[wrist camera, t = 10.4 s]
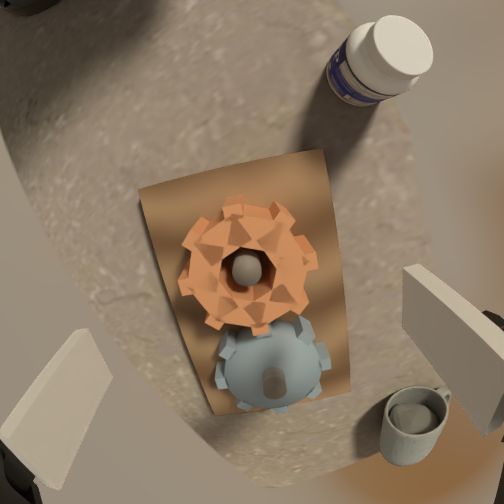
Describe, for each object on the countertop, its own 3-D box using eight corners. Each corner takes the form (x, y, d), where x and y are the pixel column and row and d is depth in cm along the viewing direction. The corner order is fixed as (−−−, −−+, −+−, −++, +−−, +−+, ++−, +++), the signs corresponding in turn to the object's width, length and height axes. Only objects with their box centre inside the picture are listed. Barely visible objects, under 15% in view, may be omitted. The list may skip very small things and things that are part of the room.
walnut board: (144, 187, 23) (113, 197, 18) (318, 148, 23) (340, 145, 17) (216, 406, 30) (211, 448, 24) (346, 382, 29) (362, 421, 23)
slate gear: (203, 322, 25) (199, 338, 23) (318, 299, 25) (325, 314, 22) (231, 402, 28) (230, 420, 25) (328, 384, 27) (334, 401, 25)
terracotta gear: (176, 209, 22) (160, 221, 18) (294, 184, 22) (305, 189, 18) (206, 314, 25) (198, 344, 21) (313, 293, 24) (325, 321, 20)
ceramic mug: (370, 437, 32) (388, 480, 25) (375, 396, 30) (398, 444, 23) (439, 411, 32) (463, 448, 25) (450, 369, 30) (482, 406, 22)
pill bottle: (353, 38, 20) (397, -7, 11) (396, 83, 21) (456, 58, 12) (311, 73, 21) (343, 31, 12) (357, 120, 22) (411, 103, 13)
